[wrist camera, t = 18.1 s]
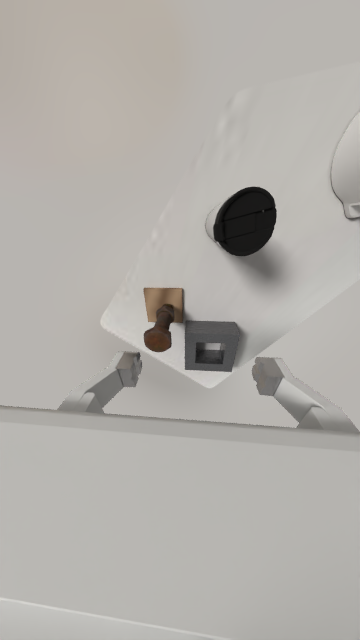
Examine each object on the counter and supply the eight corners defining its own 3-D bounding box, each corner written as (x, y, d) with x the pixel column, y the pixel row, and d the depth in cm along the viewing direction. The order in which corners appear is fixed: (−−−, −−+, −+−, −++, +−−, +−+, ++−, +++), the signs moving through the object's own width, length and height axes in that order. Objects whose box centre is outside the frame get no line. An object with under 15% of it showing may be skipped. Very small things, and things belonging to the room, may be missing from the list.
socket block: (234, 321, 45) (239, 334, 40) (227, 357, 52) (231, 371, 47) (185, 320, 46) (184, 332, 41) (185, 355, 53) (185, 369, 48)
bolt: (177, 316, 44) (171, 354, 31) (159, 316, 44) (146, 353, 32) (176, 297, 41) (169, 330, 28) (157, 297, 42) (142, 329, 29)
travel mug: (201, 211, 32) (210, 197, 15) (234, 201, 31) (286, 174, 14) (205, 244, 35) (217, 264, 18) (236, 236, 34) (279, 250, 17)
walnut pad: (182, 288, 41) (181, 289, 40) (182, 320, 46) (182, 322, 45) (144, 287, 41) (143, 289, 41) (149, 319, 47) (148, 321, 46)
